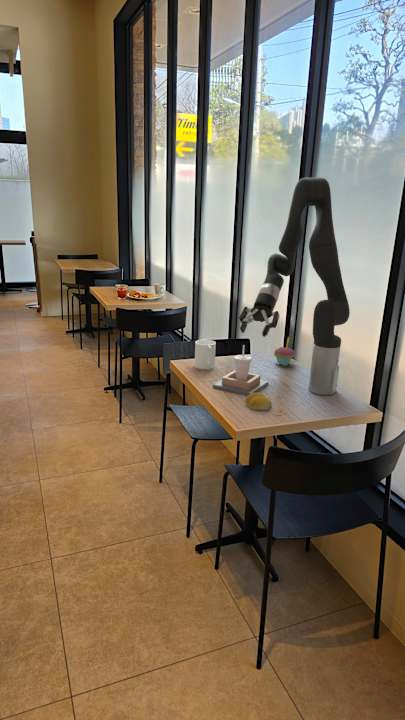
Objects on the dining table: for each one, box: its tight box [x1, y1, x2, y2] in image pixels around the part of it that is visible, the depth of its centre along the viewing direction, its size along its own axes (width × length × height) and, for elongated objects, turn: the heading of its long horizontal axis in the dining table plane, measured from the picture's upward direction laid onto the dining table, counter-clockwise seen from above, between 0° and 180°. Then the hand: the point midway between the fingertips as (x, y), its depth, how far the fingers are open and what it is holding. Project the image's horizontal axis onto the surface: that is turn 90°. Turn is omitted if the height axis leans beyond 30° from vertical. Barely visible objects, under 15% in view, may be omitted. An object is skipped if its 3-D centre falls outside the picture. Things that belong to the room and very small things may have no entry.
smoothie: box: [233, 344, 253, 382], centre depth 174 cm, size 6×6×14 cm
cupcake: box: [273, 336, 295, 366], centre depth 202 cm, size 9×8×12 cm
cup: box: [194, 339, 217, 370], centre depth 193 cm, size 8×12×10 cm
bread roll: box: [244, 392, 272, 411], centre depth 159 cm, size 8×9×4 cm
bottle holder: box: [212, 369, 269, 397], centre depth 175 cm, size 15×15×4 cm
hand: (252, 333), depth 176 cm, fingers open, 8 cm apart
